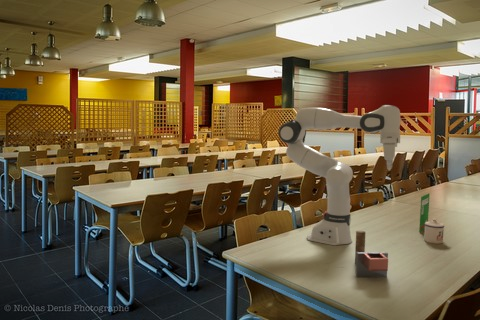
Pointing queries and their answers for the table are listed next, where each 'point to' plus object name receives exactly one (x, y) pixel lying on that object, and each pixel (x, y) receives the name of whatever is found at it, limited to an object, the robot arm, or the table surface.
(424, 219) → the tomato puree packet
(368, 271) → the drawer
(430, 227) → the teacup with lid
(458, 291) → the table surface
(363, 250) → the brown cylinder
